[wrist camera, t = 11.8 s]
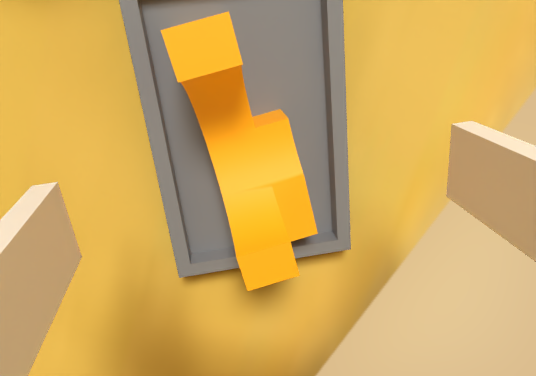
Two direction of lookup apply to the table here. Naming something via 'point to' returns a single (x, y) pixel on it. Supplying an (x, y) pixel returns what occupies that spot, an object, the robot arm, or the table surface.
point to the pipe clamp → (244, 151)
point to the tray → (260, 101)
